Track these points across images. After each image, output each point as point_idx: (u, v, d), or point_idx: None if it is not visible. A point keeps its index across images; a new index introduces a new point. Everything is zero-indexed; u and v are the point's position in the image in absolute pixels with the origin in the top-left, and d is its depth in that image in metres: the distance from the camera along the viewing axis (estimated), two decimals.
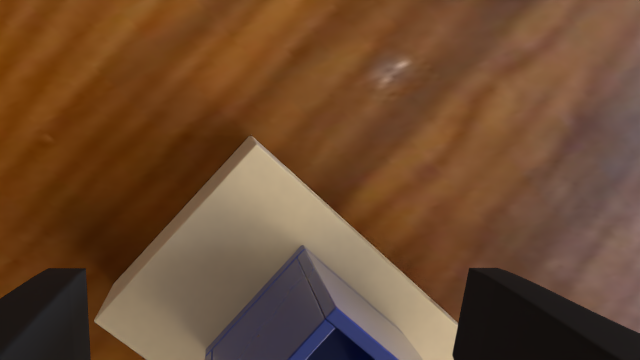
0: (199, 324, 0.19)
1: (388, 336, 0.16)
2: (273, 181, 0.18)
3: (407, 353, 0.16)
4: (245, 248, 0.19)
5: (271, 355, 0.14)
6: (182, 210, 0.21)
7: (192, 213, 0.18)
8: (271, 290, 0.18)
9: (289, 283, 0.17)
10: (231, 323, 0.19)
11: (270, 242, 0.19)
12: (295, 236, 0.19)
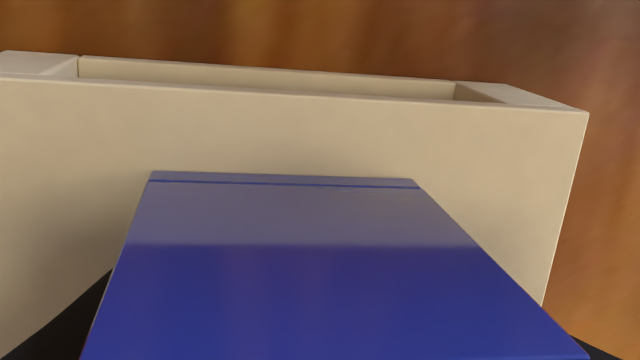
0: None
1: (341, 263, 0.07)
2: (13, 111, 0.09)
3: (402, 267, 0.07)
4: (75, 239, 0.10)
5: None
6: None
7: None
8: None
9: None
10: None
11: (102, 204, 0.10)
12: (132, 167, 0.10)
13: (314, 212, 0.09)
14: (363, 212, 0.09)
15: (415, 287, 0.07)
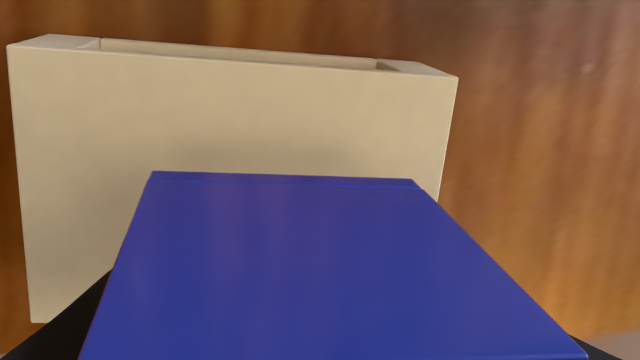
0: None
1: (340, 262, 0.07)
2: (62, 71, 0.14)
3: (401, 266, 0.07)
4: (101, 160, 0.15)
5: None
6: None
7: (18, 165, 0.15)
8: None
9: None
10: None
11: (119, 136, 0.15)
12: (139, 110, 0.15)
13: (313, 212, 0.09)
14: (362, 212, 0.09)
15: (414, 286, 0.07)
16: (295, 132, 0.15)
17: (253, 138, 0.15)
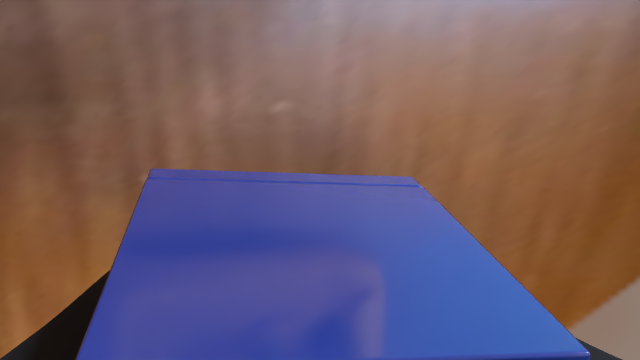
0: None
1: (340, 260, 0.07)
2: None
3: (401, 264, 0.07)
4: None
5: None
6: None
7: None
8: None
9: None
10: None
11: None
12: None
13: (314, 210, 0.09)
14: (363, 210, 0.09)
15: (414, 283, 0.07)
16: None
17: None
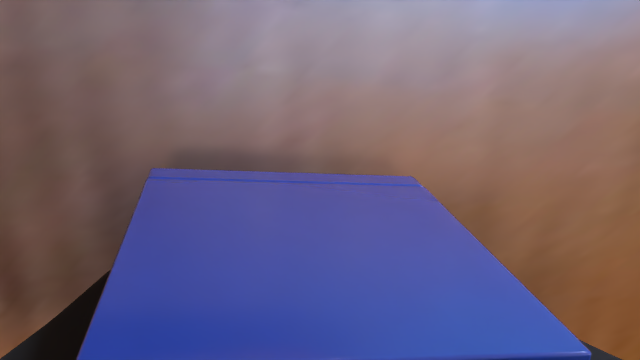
0: None
1: (341, 260, 0.07)
2: None
3: (402, 263, 0.07)
4: None
5: None
6: None
7: None
8: None
9: None
10: None
11: None
12: None
13: (314, 209, 0.09)
14: (363, 209, 0.09)
15: (415, 283, 0.07)
16: None
17: None
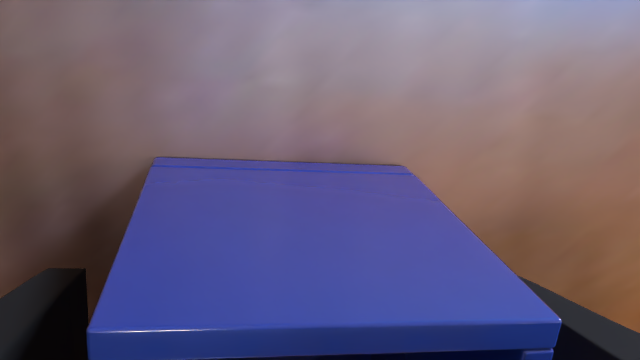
0: None
1: (334, 239, 0.07)
2: None
3: (391, 243, 0.08)
4: None
5: None
6: None
7: None
8: None
9: None
10: None
11: None
12: None
13: (309, 195, 0.09)
14: (356, 195, 0.09)
15: (402, 260, 0.07)
16: None
17: None
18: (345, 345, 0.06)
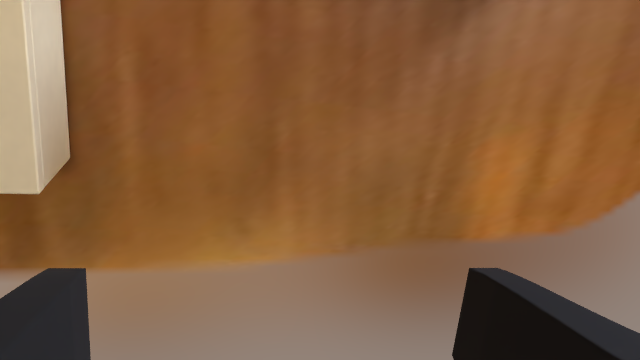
0: None
1: None
2: None
3: None
4: None
5: None
6: None
7: None
8: None
9: None
10: None
11: None
12: None
13: None
14: None
15: None
16: None
17: None
18: None
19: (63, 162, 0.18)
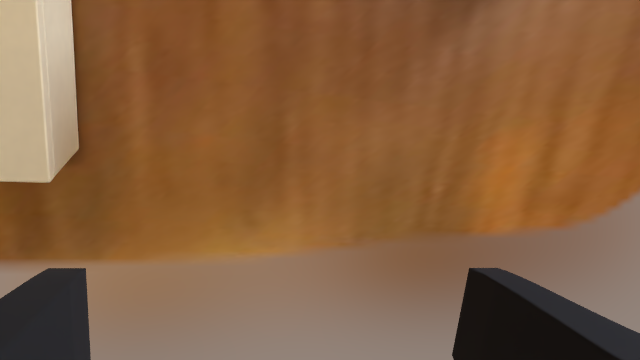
0: None
1: None
2: None
3: None
4: None
5: None
6: None
7: None
8: None
9: None
10: None
11: None
12: None
13: None
14: None
15: None
16: None
17: None
18: None
19: (72, 152, 0.18)
